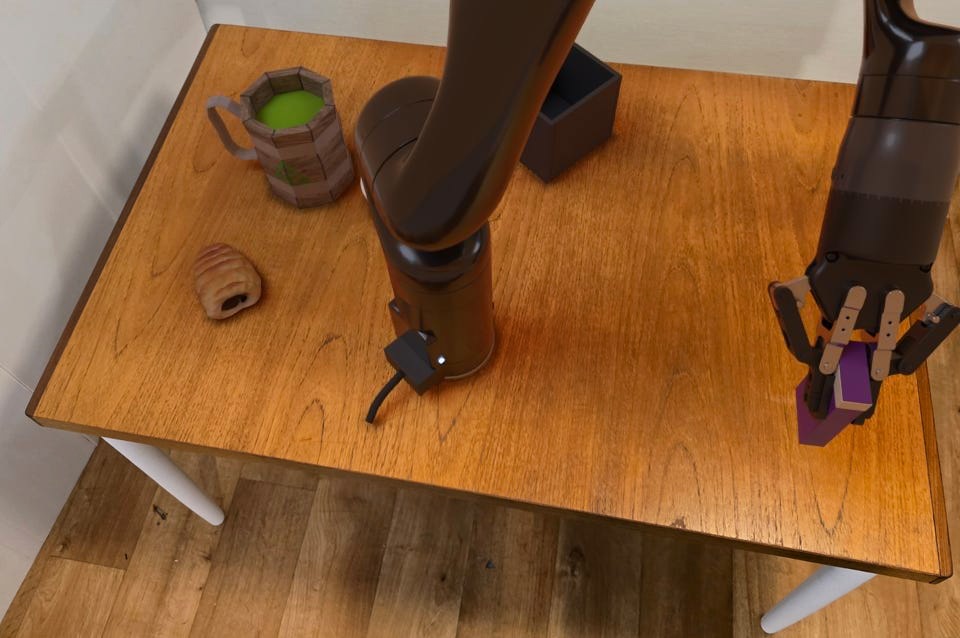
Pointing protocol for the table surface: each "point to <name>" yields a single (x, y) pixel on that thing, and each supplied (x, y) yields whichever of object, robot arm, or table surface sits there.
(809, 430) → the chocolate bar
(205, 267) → the pastry
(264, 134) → the mug
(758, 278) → the table surface
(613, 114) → the waste bin
